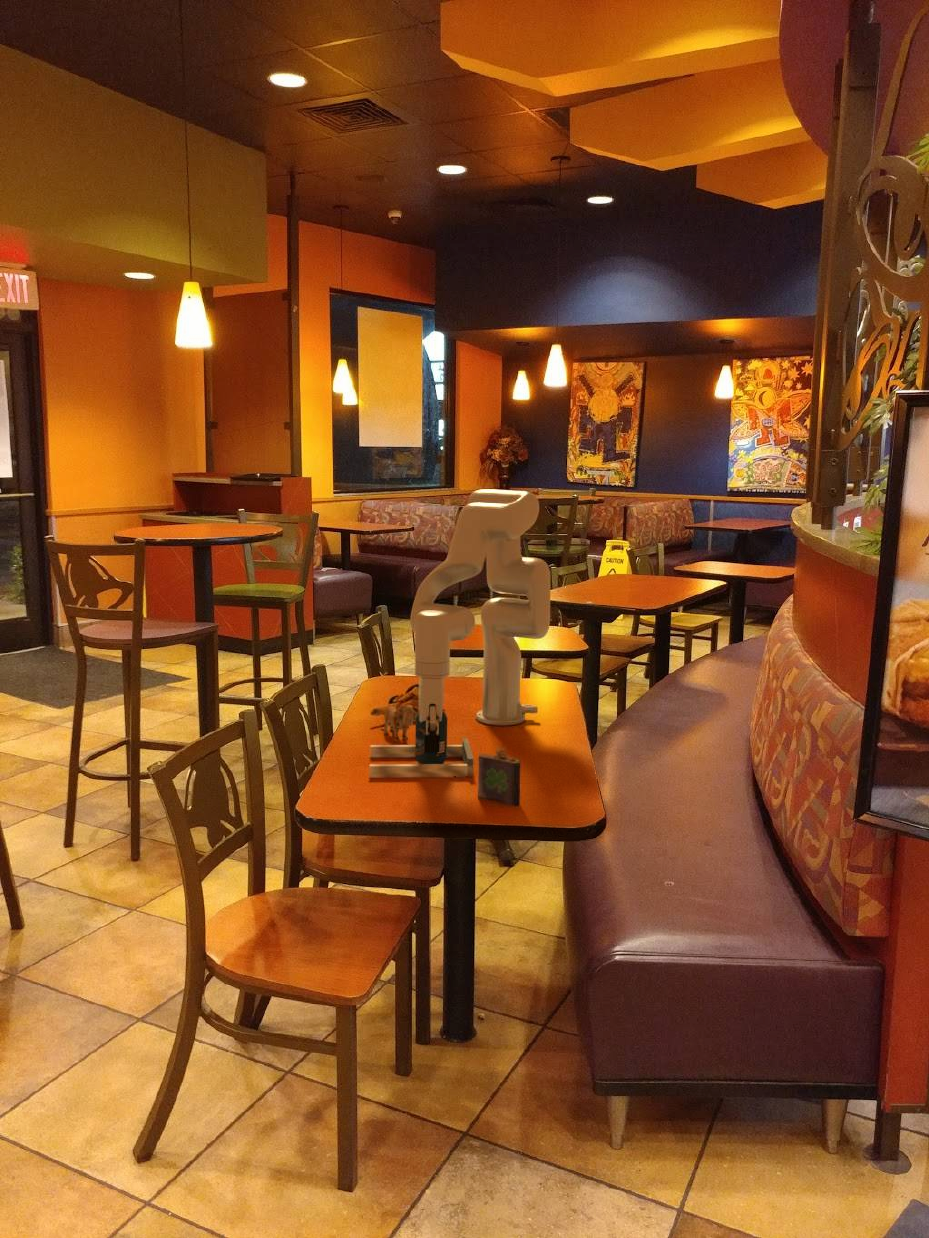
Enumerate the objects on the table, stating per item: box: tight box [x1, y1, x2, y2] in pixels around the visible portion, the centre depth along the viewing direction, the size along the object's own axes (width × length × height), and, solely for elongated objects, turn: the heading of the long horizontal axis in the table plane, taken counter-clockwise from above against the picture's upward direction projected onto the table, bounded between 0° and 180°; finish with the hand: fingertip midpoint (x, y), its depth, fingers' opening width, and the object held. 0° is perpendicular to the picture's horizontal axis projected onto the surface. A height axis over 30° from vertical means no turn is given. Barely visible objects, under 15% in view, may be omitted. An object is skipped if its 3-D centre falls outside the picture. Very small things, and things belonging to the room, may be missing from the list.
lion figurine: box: [380, 705, 418, 742], centre depth 234 cm, size 15×5×9 cm, turn 36°
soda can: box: [414, 707, 448, 764], centre depth 213 cm, size 7×7×12 cm
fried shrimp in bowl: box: [370, 683, 419, 717], centre depth 249 cm, size 9×11×18 cm
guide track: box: [368, 737, 474, 779], centre depth 214 cm, size 22×14×4 cm, turn 95°
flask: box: [477, 748, 521, 807], centre depth 194 cm, size 9×3×11 cm, turn 59°
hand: (431, 746), depth 214 cm, fingers closed on soda can, 7 cm apart
